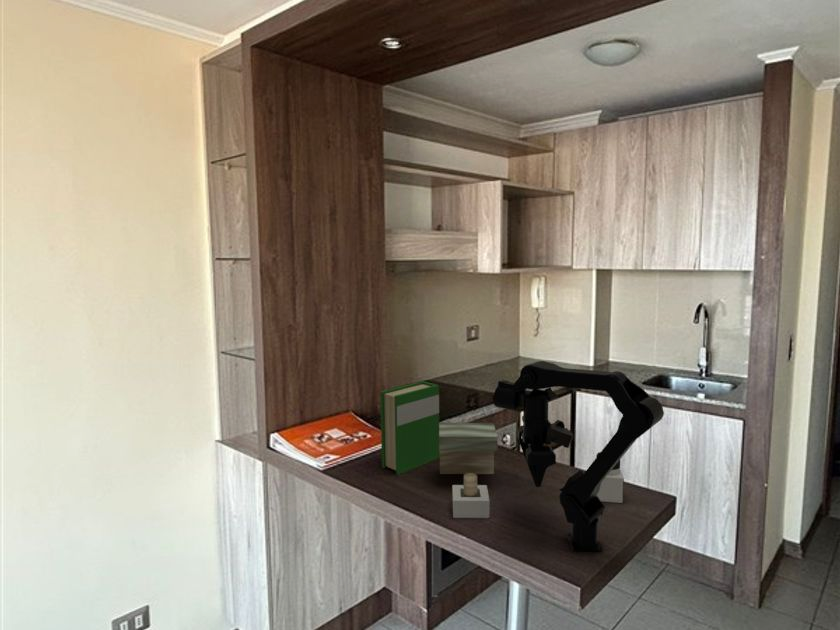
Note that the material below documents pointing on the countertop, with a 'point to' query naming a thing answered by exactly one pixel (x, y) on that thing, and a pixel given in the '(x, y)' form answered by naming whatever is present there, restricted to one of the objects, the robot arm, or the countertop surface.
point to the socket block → (470, 503)
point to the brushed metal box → (467, 448)
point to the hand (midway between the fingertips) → (534, 478)
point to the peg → (470, 485)
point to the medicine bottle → (612, 486)
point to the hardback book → (409, 426)
